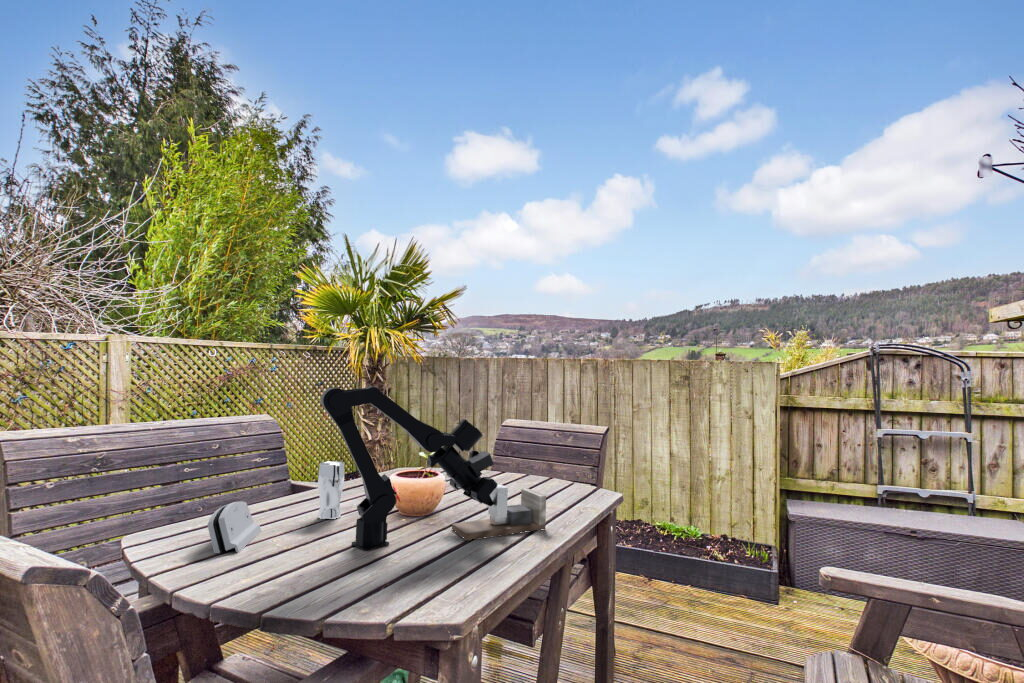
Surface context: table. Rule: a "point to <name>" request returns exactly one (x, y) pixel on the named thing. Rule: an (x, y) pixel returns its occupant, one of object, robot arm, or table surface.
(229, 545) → the grey rounded panel block
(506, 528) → the plate
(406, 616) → the table surface
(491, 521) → the white l-shaped block
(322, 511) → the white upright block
